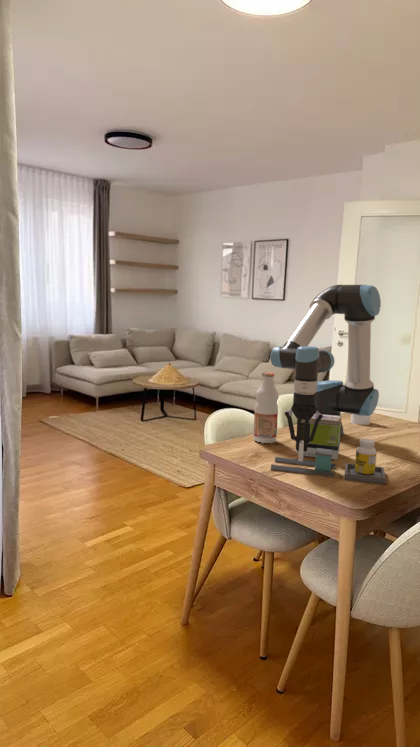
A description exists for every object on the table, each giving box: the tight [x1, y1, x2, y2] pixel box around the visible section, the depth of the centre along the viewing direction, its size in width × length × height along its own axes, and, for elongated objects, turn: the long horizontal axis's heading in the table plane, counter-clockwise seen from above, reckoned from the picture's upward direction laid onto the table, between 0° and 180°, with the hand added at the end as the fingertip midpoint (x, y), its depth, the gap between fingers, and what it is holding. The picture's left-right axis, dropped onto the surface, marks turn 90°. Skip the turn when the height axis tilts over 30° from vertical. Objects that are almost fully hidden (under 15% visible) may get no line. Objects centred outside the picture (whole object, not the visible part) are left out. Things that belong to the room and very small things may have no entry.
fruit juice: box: [252, 371, 279, 444], centre depth 203 cm, size 9×9×28 cm
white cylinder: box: [350, 414, 372, 426], centre depth 242 cm, size 9×9×12 cm
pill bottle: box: [354, 438, 378, 476], centre depth 167 cm, size 6×6×12 cm
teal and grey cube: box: [314, 448, 333, 472], centre depth 171 cm, size 6×5×6 cm
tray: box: [343, 462, 387, 486], centre depth 167 cm, size 12×13×2 cm
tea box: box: [296, 414, 342, 460], centre depth 189 cm, size 15×10×15 cm, turn 71°
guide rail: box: [270, 456, 337, 478], centre depth 173 cm, size 10×21×2 cm, turn 74°
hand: (300, 460), depth 173 cm, fingers closed
